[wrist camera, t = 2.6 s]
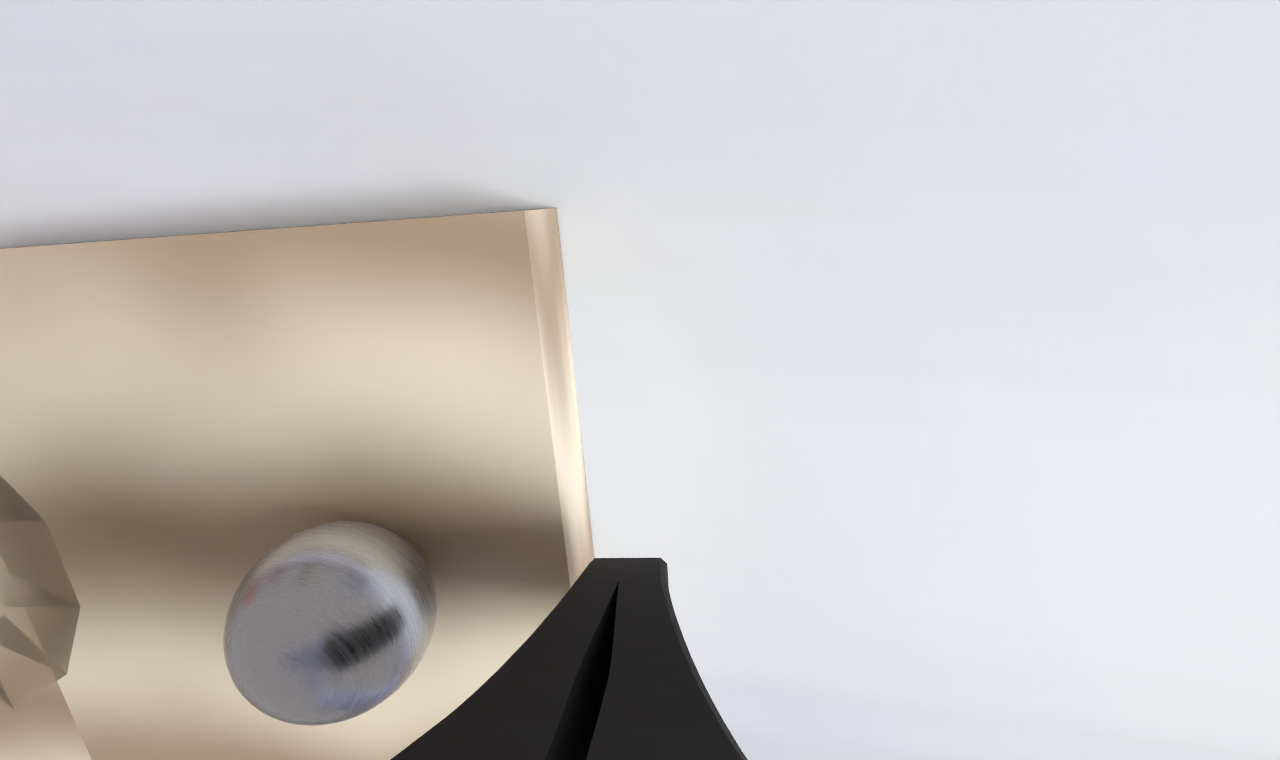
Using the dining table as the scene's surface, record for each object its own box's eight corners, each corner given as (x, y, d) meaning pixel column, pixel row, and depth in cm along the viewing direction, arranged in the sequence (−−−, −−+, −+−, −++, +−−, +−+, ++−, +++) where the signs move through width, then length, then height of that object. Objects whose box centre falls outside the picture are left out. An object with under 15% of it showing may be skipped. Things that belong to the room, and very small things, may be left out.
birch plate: (611, 723, 17) (597, 811, 14) (-65, 708, 19) (-173, 782, 17) (556, 208, 13) (524, 210, 10) (-295, 270, 15) (-483, 284, 13)
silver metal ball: (475, 630, 13) (399, 778, 10) (326, 629, 13) (204, 772, 10) (449, 486, 12) (355, 598, 9) (288, 490, 12) (139, 598, 9)
